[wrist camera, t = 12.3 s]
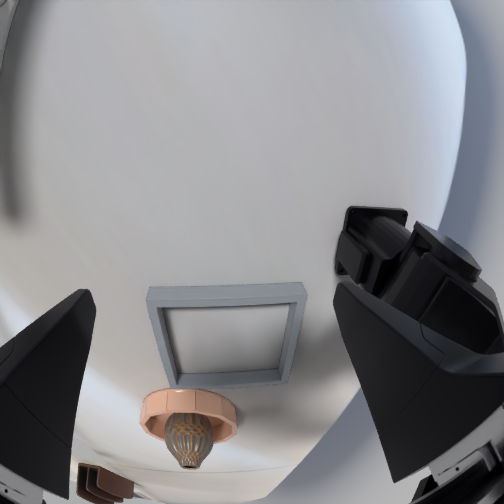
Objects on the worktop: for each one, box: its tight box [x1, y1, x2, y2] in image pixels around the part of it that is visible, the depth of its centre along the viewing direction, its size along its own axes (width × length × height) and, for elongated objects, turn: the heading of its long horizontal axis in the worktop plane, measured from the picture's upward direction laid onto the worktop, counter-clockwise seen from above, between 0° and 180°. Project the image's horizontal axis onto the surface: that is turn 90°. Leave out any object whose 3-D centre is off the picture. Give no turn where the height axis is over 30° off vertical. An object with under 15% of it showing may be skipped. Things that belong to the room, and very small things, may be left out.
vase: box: [164, 412, 214, 469], centre depth 29 cm, size 7×7×9 cm
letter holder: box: [76, 463, 134, 504], centre depth 51 cm, size 10×20×14 cm, turn 14°
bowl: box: [139, 388, 237, 444], centre depth 32 cm, size 13×13×3 cm
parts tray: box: [146, 282, 307, 389], centre depth 26 cm, size 14×14×2 cm
